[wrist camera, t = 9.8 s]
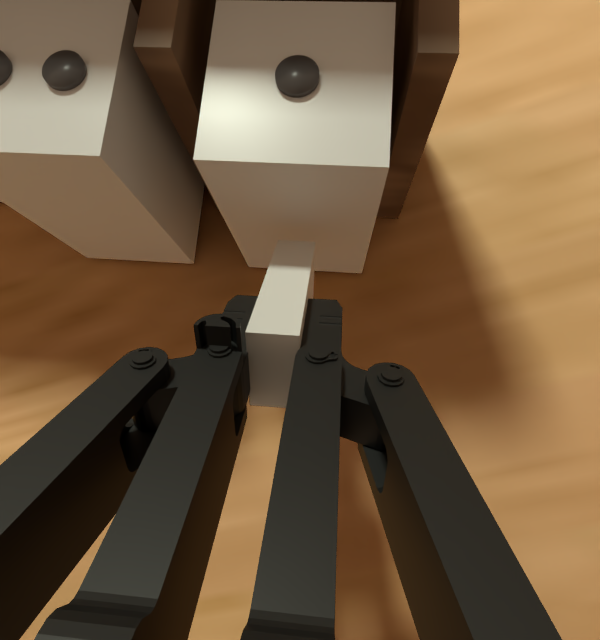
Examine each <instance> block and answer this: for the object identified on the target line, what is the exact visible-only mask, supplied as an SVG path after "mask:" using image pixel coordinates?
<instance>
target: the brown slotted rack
mask: <svg viewBox="0 0 600 640" xmlns="http://www.w3.org/2000/svg"><path fill="white" fill-rule="evenodd" d="M131 1H132V4H133V6H134V8H135V10H136V12H137V14H138V16H139V18H138V24H137V29H136V34H135V40H134V45H133V47H134V49H135V51H136V53H137V55H138V57H139V59H140V61H141V63H142V65H143V67H144V68H145V70H146V72H147V74H148V76H149V78H150V80H151V82H152V84H153V86H154V88H155V90H156V91H157V93H158V95H159V97H160V99H161V101H162V103H163V105H164V107H165V109H166V111H167V112H168V114H169V116H170V118H171V120H172V122H173V124H174V126H175V128H176V130H177V132H178V134H179V135H180V137H181V139H182V141H183V143H184V145H185V147H186V149H187V151H188V153H189V155H190V157H191V158H192V160H193V157H194V150H195V143H196V136H197V129H198V123H199V116H200V109H201V102H202V95H203V88H204V81H205V74H206V67H207V60H208V54H209V47H210V40H211V33H212V26H213V19H214V12H215V5H216V0H131ZM251 1H333V2H396V12H395V37H394V62H393V87H392V112H391V137H390V162H389V170H388V174H387V178H386V182H385V186H384V190H383V194H382V197H381V201H380V205H379V209H378V213H377V217H378V218H398V217H399V214H400V212H401V209H402V206H403V204H404V201H405V198H406V195H407V193H408V190H409V187H410V185H411V182H412V179H413V177H414V174H415V171H416V168H417V166H418V163H419V160H420V158H421V155H422V152H423V150H424V147H425V144H426V141H427V139H428V136H429V133H430V131H431V128H432V125H433V123H434V120H435V117H436V114H437V112H438V109H439V106H440V104H441V101H442V98H443V96H444V93H445V90H446V87H447V85H448V82H449V79H450V77H451V74H452V71H453V69H454V66H455V63H456V61H457V58H458V55H459V0H251ZM193 162H194V160H193ZM194 164H195V162H194ZM195 166H196V164H195ZM196 168H197V166H196ZM197 170H198V168H197ZM198 172H199V170H198ZM199 174H200V172H199ZM200 176H201V174H200ZM201 178H202V176H201ZM202 179H203V178H202ZM203 181H204V180H203ZM204 183H205V182H204ZM205 185H206V184H205ZM206 187H207V185H206ZM207 189H208V187H207ZM208 191H209V189H208ZM209 193H210V191H209ZM210 195H211V193H210ZM211 197H212V195H211ZM212 199H213V197H212ZM213 201H214V199H213ZM214 202H215V201H214ZM215 204H216V203H215ZM216 206H217V205H216ZM217 208H218V207H217ZM218 210H219V209H218Z"/></svg>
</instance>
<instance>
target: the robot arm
mask: <svg viewBox="0 0 600 640" xmlns="http://www.w3.org/2000/svg"><path fill="white" fill-rule="evenodd" d="M314 265H315V242H306V241H286V240H278V242H277V245H276V247H275V250H274V253H273V256H272V259H271V261H270V264H269V267H268V270H267V273H266V275H265V278H264V281H263V284H262V287H261V289H260V292H259V295H258V296H244V295H237V296H235V297H234V298H233V299H231V300H230V301H229V302H228V303H227V305H226V307H225V309H224V312H223V314H212V315H208V316H205V317H203V318H201V319H199V320H198V321H197V322H196V323H195V324H194V332H195V339H196V346H197V350H196V352H195V354H194V355H191V356H187V357H183V358H175V359H168V356H167V354H166V353H165V352H164V351H163V350H161V349H159V348H153V347H146V348H139V349H136V350H133V351H131V352H129V353H128V354H126V355H125V356H123V357H122V358H121V359H120V360H119V361H117V362H116V363H115V364H114V365H113V366H112V367H111V368H110V369H108V370H107V371H106V372H105V373H104V374H103V375H102V376H101V377H99V378H98V379H97V380H96V381H95V382H94V383H93V384H91V385H90V386H89V387H88V388H87V389H86V390H85V391H84V392H82V393H81V394H80V395H79V396H78V397H77V398H76V399H75V400H73V401H72V402H71V403H70V404H69V405H68V406H67V407H65V408H64V409H63V410H62V411H61V412H60V413H59V414H58V415H56V416H55V417H54V418H53V419H52V420H51V421H50V422H49V423H47V424H46V425H45V426H44V427H43V428H42V429H41V430H40V431H38V432H37V433H36V434H35V435H34V436H33V437H32V438H30V439H29V440H28V441H27V442H26V443H25V444H24V445H23V446H21V447H20V448H19V449H18V450H17V451H16V452H15V453H14V454H12V455H11V456H10V457H9V458H8V459H7V460H6V461H4V462H3V463H2V464H1V465H0V640H19V639H20V638H21V636H22V635H23V634H24V633H25V631H26V630H27V629H28V627H29V626H30V625H31V623H32V622H33V621H34V620H35V618H36V617H37V616H38V614H39V613H40V612H41V610H42V609H43V608H44V607H45V605H46V604H47V603H48V601H49V600H50V599H51V597H52V596H53V595H54V594H55V592H56V591H57V590H58V588H59V587H60V586H61V584H62V583H63V582H64V581H65V579H66V578H67V577H68V575H69V574H70V573H71V571H72V570H73V569H74V567H75V566H76V565H77V564H78V562H79V561H80V560H81V558H82V557H83V556H84V554H85V553H86V552H87V551H88V549H89V548H90V547H91V545H92V544H93V543H94V541H95V540H96V539H97V538H98V536H99V535H100V534H101V532H102V531H103V530H104V528H105V527H106V526H107V525H108V523H109V522H110V521H111V519H112V518H113V517H114V515H115V514H116V515H115V517H114V519H113V521H112V523H111V525H110V527H109V529H108V531H107V533H106V536H105V538H104V540H103V542H102V544H101V546H100V548H99V550H98V552H97V554H96V556H95V558H94V560H93V562H92V564H91V566H90V568H89V570H88V572H87V574H86V576H85V578H84V580H83V583H82V585H81V587H80V589H79V591H78V592H77V594H76V596H75V597H74V599H73V600H72V601H71V602H70V603H69V604H67V605H64V606H62V607H59V608H57V609H56V610H55V611H54V612H53V613H52V614H51V615H50V616H49V617H48V618H47V619H46V621H45V622H44V624H43V625H42V627H41V629H40V630H39V632H38V633H37V635H36V637H35V639H34V640H187V639H188V636H189V632H190V628H191V625H192V621H193V617H194V613H195V610H196V606H197V602H198V598H199V595H200V591H201V587H202V583H203V580H204V576H205V572H206V568H207V565H208V561H209V557H210V554H211V550H212V546H213V542H214V539H215V535H216V531H217V527H218V524H219V520H220V516H221V512H222V509H223V505H224V501H225V497H226V494H227V490H228V486H229V483H230V479H231V475H232V471H233V468H234V464H235V460H236V456H237V453H238V449H239V445H240V441H241V438H242V434H243V430H244V426H245V423H246V419H247V408H246V404H247V400H248V397H250V405H256V406H268V407H281V408H286V411H285V416H284V422H283V428H282V433H281V439H280V445H279V450H278V456H277V462H276V467H275V473H274V479H273V484H272V490H271V496H270V501H269V507H268V513H267V518H266V524H265V530H264V536H263V541H262V547H261V553H260V558H259V564H258V570H257V575H256V581H255V587H254V592H253V598H252V604H251V609H250V614H249V619H248V622H247V625H246V626H245V628H244V630H243V633H242V636H241V639H240V640H335V635H334V623H335V586H336V550H337V514H338V479H339V443H340V436H341V437H343V438H346V439H349V440H352V441H354V442H357V443H358V449H359V452H360V455H361V459H362V462H363V465H364V468H365V471H366V474H367V477H368V480H369V483H370V486H371V490H372V493H373V496H374V499H375V502H376V505H377V508H378V511H379V514H380V518H381V521H382V524H383V527H384V530H385V533H386V536H387V539H388V542H389V545H390V549H391V552H392V555H393V558H394V561H395V564H396V567H397V570H398V573H399V576H400V580H401V583H402V586H403V589H404V592H405V595H406V598H407V601H408V604H409V608H410V611H411V614H412V617H413V620H414V623H415V626H416V629H417V632H418V635H419V639H420V640H562V639H561V637H560V635H559V633H558V632H557V630H556V628H555V626H554V624H553V623H552V621H551V619H550V617H549V615H548V614H547V612H546V610H545V608H544V607H543V605H542V603H541V601H540V599H539V598H538V596H537V594H536V592H535V590H534V589H533V587H532V585H531V583H530V581H529V580H528V578H527V576H526V574H525V573H524V571H523V569H522V567H521V565H520V564H519V562H518V560H517V558H516V556H515V555H514V553H513V551H512V549H511V547H510V546H509V544H508V542H507V540H506V538H505V537H504V535H503V533H502V531H501V530H500V528H499V526H498V524H497V522H496V521H495V519H494V517H493V515H492V513H491V512H490V510H489V508H488V506H487V504H486V503H485V501H484V499H483V497H482V496H481V494H480V492H479V490H478V488H477V487H476V485H475V483H474V481H473V479H472V478H471V476H470V474H469V472H468V470H467V469H466V467H465V465H464V463H463V462H462V460H461V458H460V456H459V454H458V453H457V451H456V449H455V447H454V445H453V444H452V442H451V440H450V438H449V436H448V435H447V433H446V431H445V429H444V428H443V426H442V424H441V422H440V420H439V419H438V417H437V415H436V413H435V411H434V410H433V408H432V406H431V404H430V402H429V401H428V399H427V397H426V395H425V394H424V392H423V390H422V388H421V386H420V385H419V383H418V381H417V379H416V377H415V376H414V375H413V373H412V372H411V371H410V370H409V369H407V368H405V367H403V366H402V365H398V364H395V363H379V364H375V365H373V366H372V367H370V368H369V369H368V371H366V370H362V369H359V368H357V367H354V366H352V365H351V364H349V363H348V362H347V361H346V360H345V359H344V358H343V356H342V352H341V339H342V307H341V306H340V304H339V303H338V301H337V300H327V299H313V293H314Z"/></svg>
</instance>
